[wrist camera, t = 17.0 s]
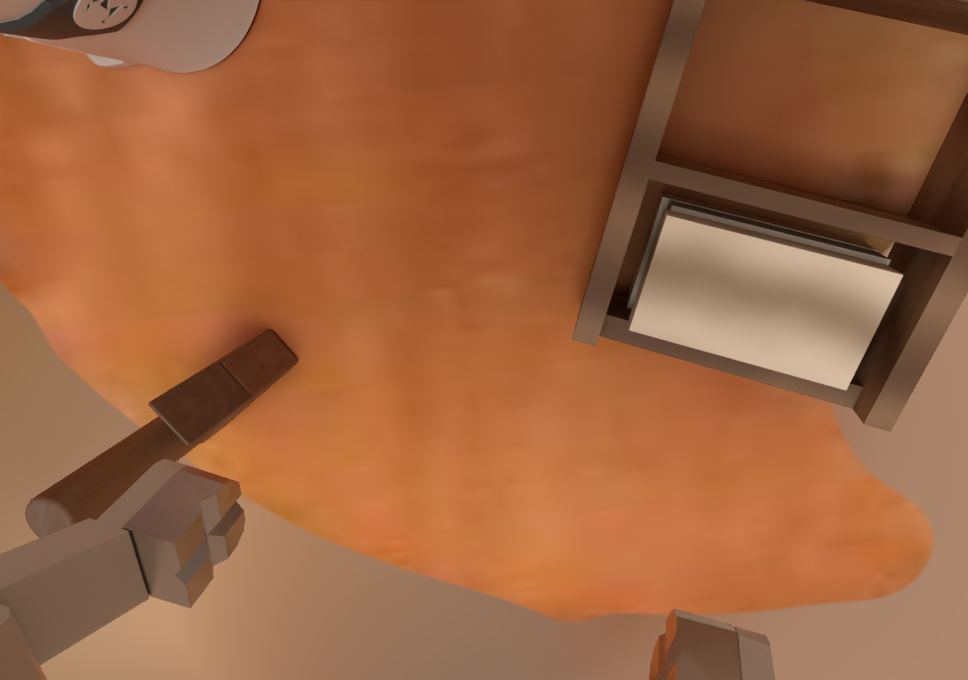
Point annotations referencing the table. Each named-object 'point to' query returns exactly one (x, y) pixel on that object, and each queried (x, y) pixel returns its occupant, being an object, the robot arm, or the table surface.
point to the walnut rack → (918, 237)
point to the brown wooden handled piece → (164, 433)
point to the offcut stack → (759, 290)
